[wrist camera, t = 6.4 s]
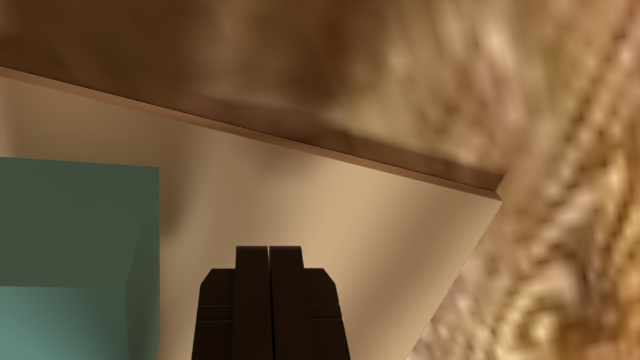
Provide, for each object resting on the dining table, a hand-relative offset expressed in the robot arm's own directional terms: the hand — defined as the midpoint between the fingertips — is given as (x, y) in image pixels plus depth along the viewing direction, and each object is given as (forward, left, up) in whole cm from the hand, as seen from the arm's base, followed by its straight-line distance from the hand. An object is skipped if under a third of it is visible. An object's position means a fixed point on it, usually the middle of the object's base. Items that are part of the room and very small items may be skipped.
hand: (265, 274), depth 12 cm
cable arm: (+2, +11, 0) cm, 11 cm away
